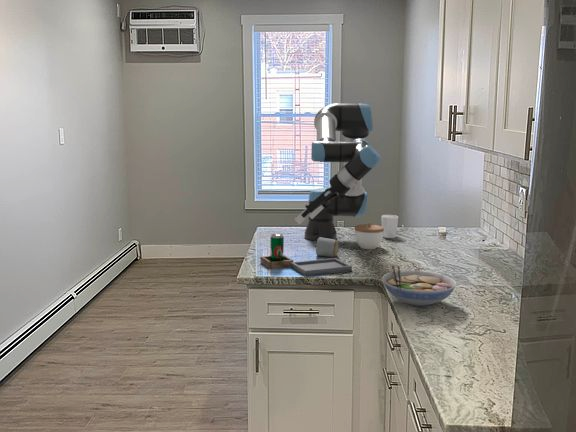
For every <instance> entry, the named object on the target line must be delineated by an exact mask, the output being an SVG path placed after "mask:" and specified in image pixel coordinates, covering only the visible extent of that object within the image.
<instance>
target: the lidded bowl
mask: <svg viewBox="0 0 576 432" xmlns="http://www.w3.org/2000/svg"><path fill="white" fill-rule="evenodd" d="M383 231H384V228H383V227H382V226H381V225H378V224H371V222H367V224H365V223H364V224H356V225H355V226H354V238H355V242H356V244H357V245H358V246H359V248H361V249H363V250H374V249H377V248H378V246H380V245H381V243H382V241H383V238H384V237H383Z"/></svg>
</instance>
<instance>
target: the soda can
mask: <svg viewBox="0 0 576 432" xmlns="http://www.w3.org/2000/svg"><path fill="white" fill-rule="evenodd" d="M284 238H285V237H284V234H283V233H278V232H277V233H275V232H274V233H271V236H270V238H269V239H270V240H269V241H270V242H269V243H270V245H269V246H270V247H269V248H270V249H269V252H270V253H269V254H270V255H269V256H270V262H275V261H283V255H284V246H285V245H284V242H285V239H284Z"/></svg>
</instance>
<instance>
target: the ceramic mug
mask: <svg viewBox="0 0 576 432" xmlns="http://www.w3.org/2000/svg"><path fill="white" fill-rule="evenodd" d="M339 245H340V244H339V241H338V240H337V239H328V238H322V237H319V238H318V240H317V241H316V247H315V254H316V256H317V257H328V258H329V257H330V258H336V256H337V255H338V253H339Z"/></svg>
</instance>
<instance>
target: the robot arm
mask: <svg viewBox="0 0 576 432" xmlns="http://www.w3.org/2000/svg"><path fill="white" fill-rule="evenodd" d="M313 123H314V124H313V125H314V129H315V130H316V141H312V142H311V153H310V154H311V157H310V159H311V161H312V162H317V163H318V162H319V163H343V167H341V168H340V169H339V170H338V171H337V173H336V174H334V175H333V176H332V177H331V178H330V179H329V181H328V182H329V185H330V186H331V187H321V188H316V189H315V188H314V189H312V190H311V191H309V195H308V204H306V205H305V208H304V210H302V212H300V213H299V214H297V216H296V217H295V218H294V221H295V222H296V223H297V224H298V225H302V223H304V222H305V221H306V219H308V221H307V224H306V228H305V230H304V239H307V240H309V241H315V242H317V240H318V238H319V237H322V238H328V239H334V240H337V238H338V237H337V236H338V234H337V230H336V227H335V223H334V217H353V218H355V217H363V216H364V215H365V212H366V209H367V206H368V193H367V191H365V188H364V186H362V185H363V184H362V182H363V178H364V177H365V176H366V175H367V174H368V173H370V172H371V170H373V169H375V167H376V166H377V165H378V163H379V162H380V161H381V159H382V158H381V155H380V153H379V152H378V151H377V150H376V149H375V148H374V147H373V146H371V145H370V143H369V142H368V140H366V139H367V138H368V137H369V134H370V133H371V132H373V130H374V129H373V124H374V123H373V111H372V107H371V105H369V104H367V103H360V102H359V103H339V102H338V103H331V104H328V105H325V106H324V107H322V108H321V109H320V110H319V111H318V112H317V113H316V115H315V117H314V121H313ZM336 132H341V135H342V137H344V141H337V137H336V136H337V135H336Z"/></svg>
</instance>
